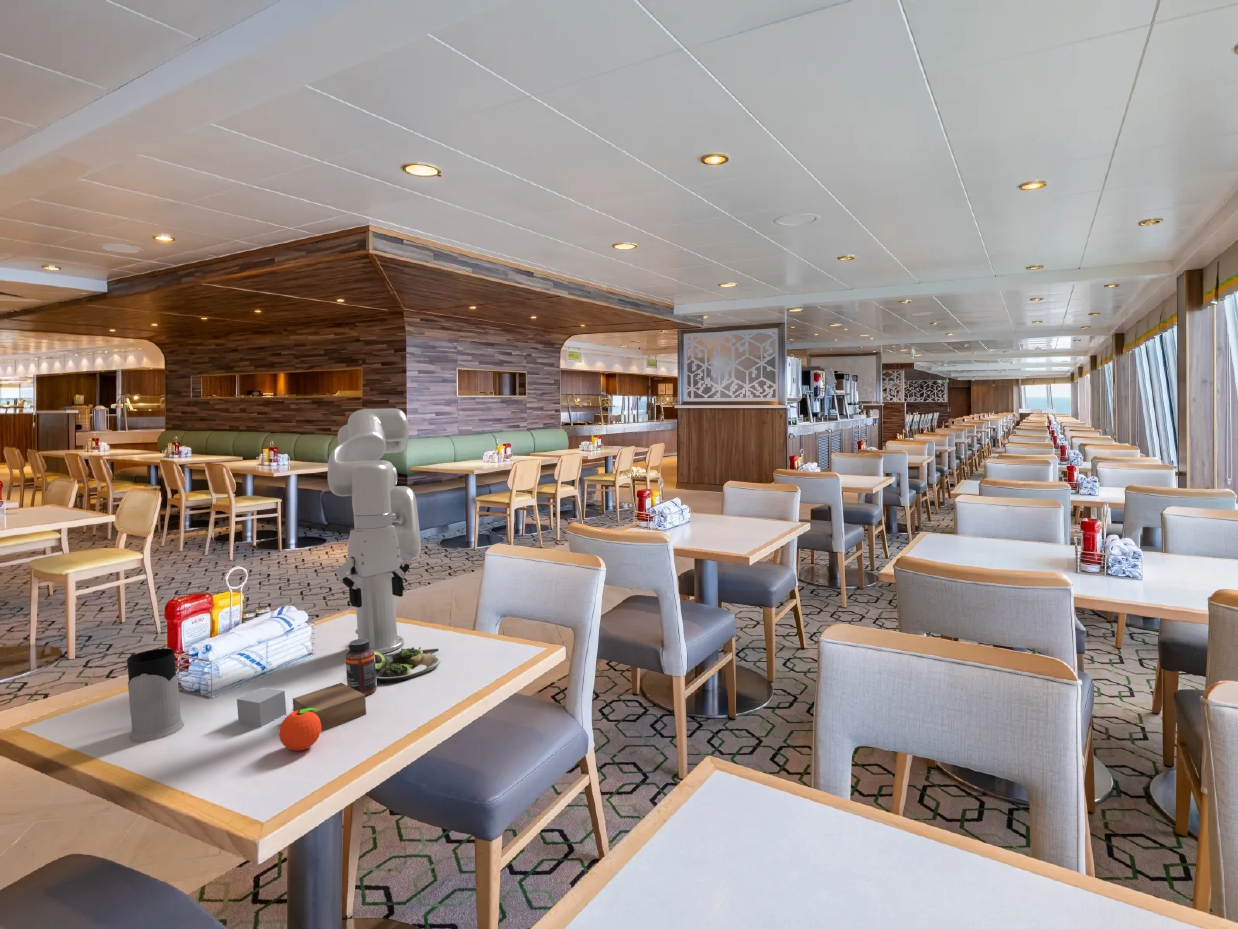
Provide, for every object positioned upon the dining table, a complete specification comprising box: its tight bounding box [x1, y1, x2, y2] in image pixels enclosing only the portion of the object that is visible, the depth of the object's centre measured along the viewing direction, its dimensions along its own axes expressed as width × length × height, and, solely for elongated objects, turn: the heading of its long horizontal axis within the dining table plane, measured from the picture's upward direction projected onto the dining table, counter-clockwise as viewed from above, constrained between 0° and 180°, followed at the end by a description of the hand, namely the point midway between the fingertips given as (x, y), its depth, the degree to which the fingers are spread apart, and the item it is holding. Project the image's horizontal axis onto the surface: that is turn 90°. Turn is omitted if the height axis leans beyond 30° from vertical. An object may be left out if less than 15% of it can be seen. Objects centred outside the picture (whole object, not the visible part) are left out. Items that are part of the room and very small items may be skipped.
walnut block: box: [292, 682, 367, 732], centre depth 136 cm, size 10×10×4 cm
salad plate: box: [374, 646, 441, 684], centre depth 162 cm, size 19×18×5 cm
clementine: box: [278, 708, 324, 752], centre depth 123 cm, size 8×7×7 cm
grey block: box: [236, 686, 287, 728], centre depth 135 cm, size 6×6×5 cm
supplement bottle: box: [345, 638, 378, 697], centre depth 147 cm, size 6×6×11 cm
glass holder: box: [126, 647, 185, 742], centre depth 134 cm, size 9×14×15 cm, turn 15°
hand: (377, 600), depth 145 cm, fingers open, 9 cm apart
